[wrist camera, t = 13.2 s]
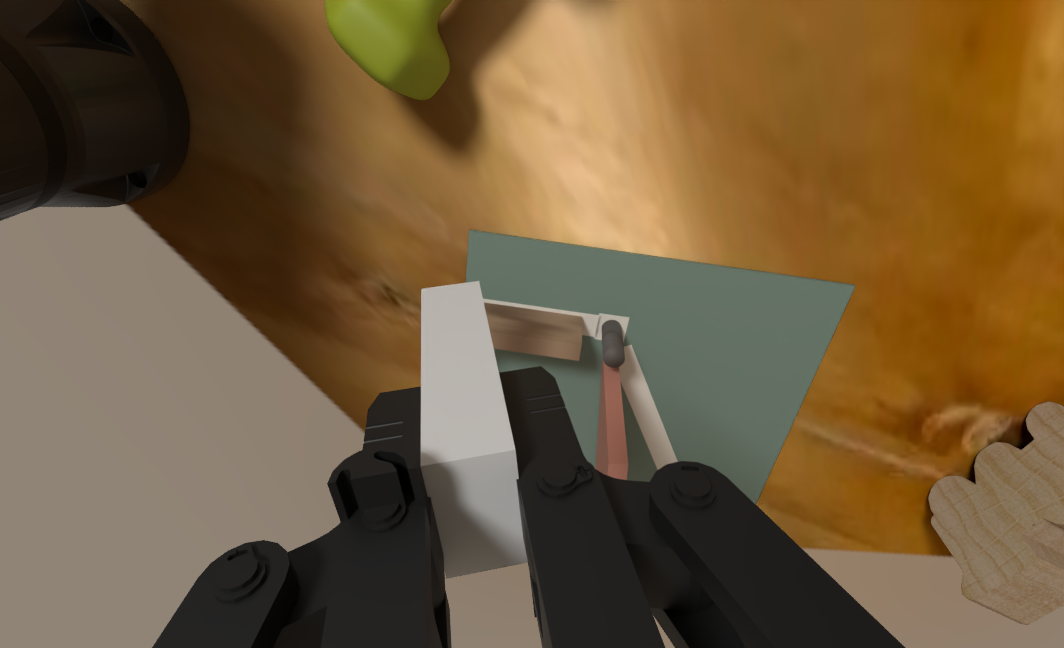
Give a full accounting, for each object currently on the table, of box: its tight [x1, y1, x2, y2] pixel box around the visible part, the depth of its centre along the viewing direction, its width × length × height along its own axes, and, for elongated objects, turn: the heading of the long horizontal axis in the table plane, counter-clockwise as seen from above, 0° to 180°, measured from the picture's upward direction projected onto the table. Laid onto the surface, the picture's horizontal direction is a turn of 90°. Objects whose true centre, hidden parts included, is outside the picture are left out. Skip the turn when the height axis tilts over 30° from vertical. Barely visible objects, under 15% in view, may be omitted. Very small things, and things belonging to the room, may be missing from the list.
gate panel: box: [595, 355, 628, 480], centre depth 43 cm, size 14×1×13 cm, turn 0°
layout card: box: [466, 230, 855, 505], centre depth 47 cm, size 29×24×1 cm
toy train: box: [928, 402, 1064, 625], centre depth 44 cm, size 6×17×10 cm, turn 153°
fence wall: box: [484, 302, 625, 368], centre depth 42 cm, size 14×2×6 cm, turn 83°
